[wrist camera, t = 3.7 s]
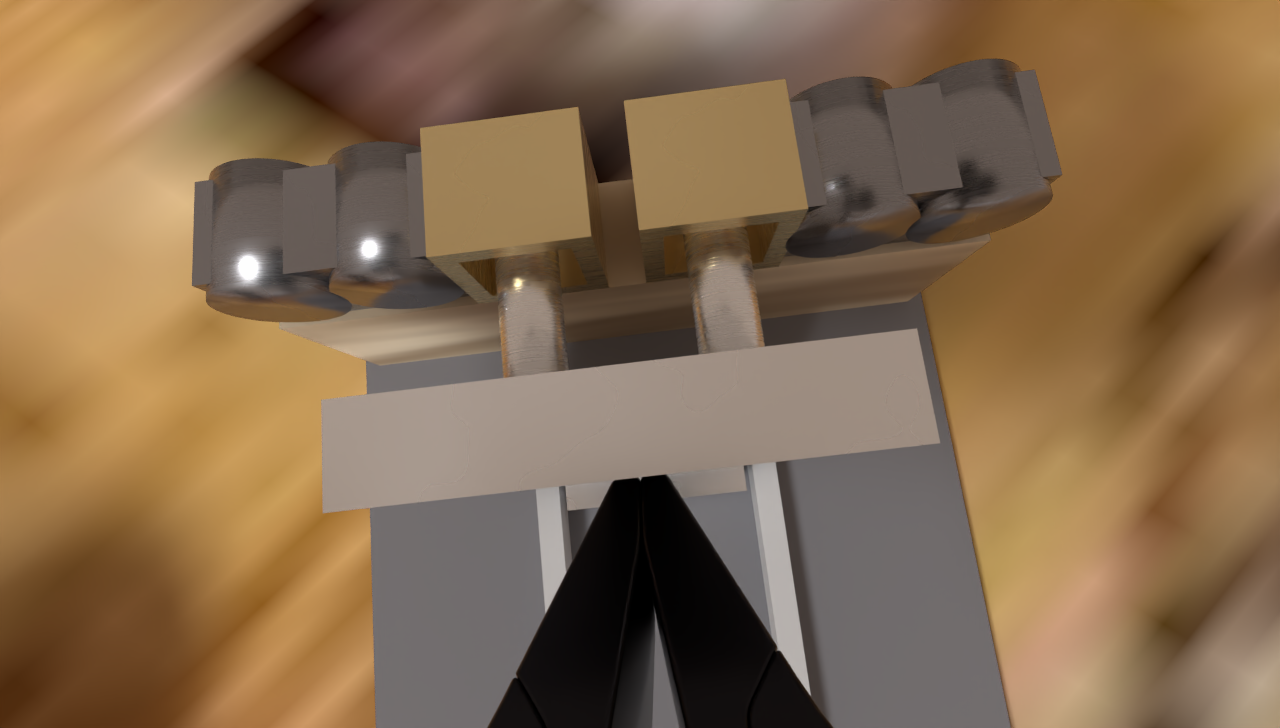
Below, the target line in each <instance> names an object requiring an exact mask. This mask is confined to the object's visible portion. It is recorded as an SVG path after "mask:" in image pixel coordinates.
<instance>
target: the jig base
mask: <svg viewBox="0 0 1280 728" xmlns="http://www.w3.org/2000/svg"><path fill="white" fill-rule="evenodd" d="M761 324H762V331H763V337H764V344H765V347H766V346H775V345H783V344H791V343H800V342H808V341H816V340H825V339H833V338H841V337H850V336H858V335H866V334H874V333H883V332H891V331H899V330H908V329H916V328H917V331H918V336H919V341H920V346H921V350H922V355H923V360H924V365H925V370H926V375H927V380H928V385H929V390H930V395H931V400H932V405H933V409H934V414H935V419H936V424H937V429H938V434H939V439H940V443H937V444H929V445H920V446H911V447H902V448H894V449H885V450H876V451H867V452H859V453H850V454H841V455H832V456H824V457H815V458H806V459H798V460H789V461H780V462H771V463H762V464H754V465H745V466H744V474H745V481H746V488H747V491H739V492H730V493H721V494H712V495H703V496H694V497H685V498H683V500H684V501H685V503H686V504H687V506H688V507H689V509H690V510H691V512H692V514H693V515H694V517H695V518H696V520H697V521H698V523H699V525H700V526H701V528H702V529H703V531H704V532H705V534H706V535H707V537H708V539H709V540H710V542H711V543H712V545H713V546H714V548H715V550H716V551H717V553H718V554H719V556H720V557H721V559H722V560H723V562H724V564H725V565H726V567H727V568H728V570H729V571H730V573H731V574H732V576H733V578H734V579H735V581H736V582H737V584H738V585H739V587H740V589H741V590H742V592H743V593H744V595H745V596H746V598H747V599H748V601H749V603H750V604H751V606H752V607H753V609H754V610H755V612H756V613H757V615H758V617H759V618H760V620H761V621H762V623H763V624H764V626H765V628H766V629H767V631H768V632H769V634H770V635H771V637H772V638H773V640H774V642H775V643H776V645H777V651H778V650H779V651H781V652H782V654H783V655H784V657H785V658H786V660H787V661H788V663H789V664H790V666H791V668H792V669H793V671H794V672H795V674H796V675H797V677H798V678H799V680H800V681H801V683H802V684H803V686H804V687H805V688H806V690H807V691H808V693H809V694H810V696H811V697H812V699H813V700H814V702H815V703H816V705H817V706H818V707H819V709H820V710H821V712H822V713H823V714H824V716H825V717H826V718H827V720H828V721H829V722H830V723H831V725H832V726H833V727H834V728H1011V727H1010V722H1009V717H1008V712H1007V707H1006V702H1005V698H1004V693H1003V688H1002V683H1001V678H1000V673H999V669H998V664H997V659H996V654H995V649H994V644H993V640H992V635H991V630H990V625H989V620H988V615H987V611H986V606H985V601H984V596H983V591H982V586H981V582H980V577H979V572H978V567H977V562H976V557H975V553H974V548H973V543H972V538H971V533H970V528H969V524H968V519H967V514H966V509H965V504H964V499H963V495H962V490H961V485H960V480H959V475H958V470H957V466H956V461H955V456H954V451H953V446H952V441H951V437H950V432H949V427H948V422H947V417H946V412H945V408H944V403H943V398H942V393H941V388H940V383H939V379H938V374H937V369H936V364H935V359H934V354H933V350H932V345H931V340H930V335H929V330H928V325H927V320H926V316H925V311H924V306H923V301H922V296H921V292H920V293H919V294H917V295H916V296H915V297H913V298H912V299H910V300H909V301H907V302H899V303H891V304H882V305H874V306H866V307H858V308H850V309H841V310H833V311H825V312H817V313H808V314H800V315H792V316H784V317H776V318H767V319H761ZM567 354H568V365H569V370H575V369H583V368H591V367H600V366H608V365H616V364H625V363H633V362H641V361H650V360H658V359H666V358H675V357H683V356H691V355H699V353H698V346H697V338H696V331H695V327H693V328H685V329H677V330H669V331H661V332H652V333H644V334H636V335H628V336H619V337H611V338H603V339H595V340H587V341H578V342H570V343H567ZM366 373H367V394H375V393H383V392H391V391H400V390H408V389H416V388H425V387H433V386H441V385H450V384H458V383H466V382H475V381H483V380H491V379H500V378H503V370H502V355H501V351H496V352H488V353H480V354H471V355H463V356H455V357H447V358H439V359H430V360H422V361H414V362H406V363H397V364H389V365H381V366H379V365H377V364H374V363H371V362H369V361H366ZM598 509H599V507H596V508H587V509H578V510H569V511H567V499H566V487H565V486H559V487H551V488H542V489H533V490H524V491H515V492H506V493H497V494H489V495H480V496H471V497H462V498H453V499H444V500H435V501H426V502H417V503H409V504H400V505H391V506H382V507H373V508H370V523H371V560H372V598H373V635H374V673H375V710H376V728H487V727H488V725H489V723H490V721H491V719H492V718H493V716H494V714H495V712H496V710H497V708H498V706H499V704H500V703H501V701H502V699H503V697H504V695H505V693H506V691H507V689H508V687H509V685H510V683H511V681H512V679H513V678H517V676H516V671H517V669H518V667H519V665H520V663H521V661H522V659H523V657H524V655H525V653H526V651H527V649H528V647H529V645H530V643H531V641H532V639H533V638H534V636H535V634H536V632H537V630H538V628H539V626H540V624H541V622H542V620H543V618H544V616H545V614H546V612H547V610H548V608H549V606H550V604H551V602H552V600H553V598H554V596H555V594H556V592H557V590H558V588H559V586H560V584H561V582H562V580H563V578H564V576H565V574H566V572H567V570H568V568H569V566H570V564H571V562H572V560H573V558H574V556H575V554H576V552H577V550H578V548H579V546H580V544H581V542H582V540H583V538H584V536H585V534H586V532H587V530H588V528H589V526H590V524H591V522H592V520H593V518H594V516H595V514H596V513H597V511H598ZM652 728H679V725H678V720H677V716H676V711H675V706H674V701H673V697H672V692H671V687H670V683H669V678H668V673H667V668H666V664H665V659H664V654H663V650H662V645H661V640H660V635H659V630H658V624H657V619H656V613H655V658H654V689H653V720H652Z"/></svg>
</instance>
